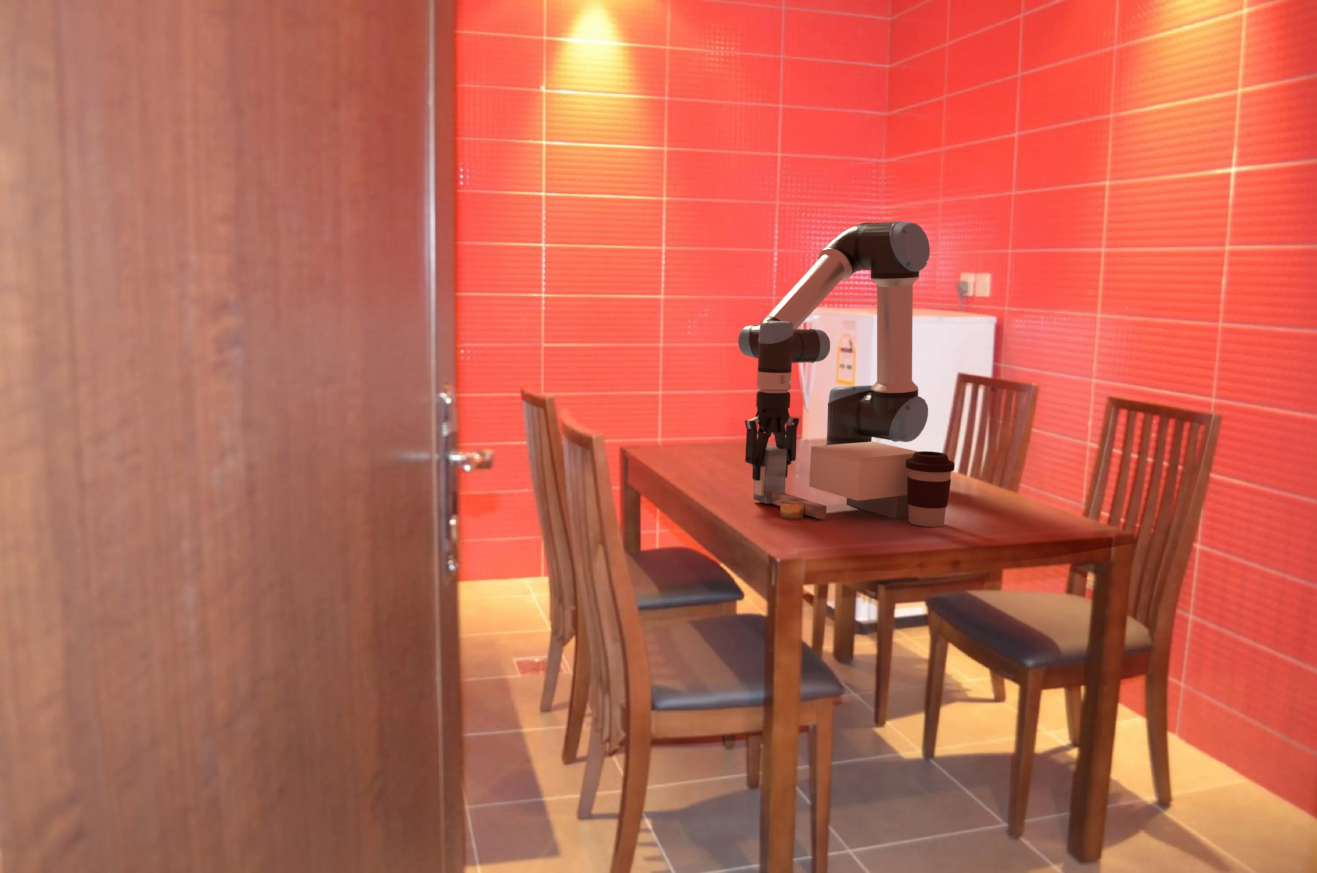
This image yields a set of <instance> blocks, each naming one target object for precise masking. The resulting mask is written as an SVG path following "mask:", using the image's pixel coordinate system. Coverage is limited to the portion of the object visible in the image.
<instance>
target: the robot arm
mask: <svg viewBox="0 0 1317 873" xmlns="http://www.w3.org/2000/svg"><path fill="white" fill-rule="evenodd" d="M930 247H931V246H930V243H929V239H928V236H927V233H926V232H925V230H923V228H922V227H921V226H920V225H919V224H918V223H915V222H910V221H900V220H899V221H898V220H897V221H888V222H887V221H885V222H884V221H883V222H882V221H881V222H871V221H870V222H862V223H858V224H855V225H853V226H851V227H849V228H847V229H845V230H844V231H843V232H841V233H839V234H838V235H837V236H836V237H834V238H833V239H832V240H830V242H829V243H827V244H826V246H824V247H823V248H822V250H821V251H820V252H819V253H818V260H817V261H816V262H815V263H814V264H813V265H812V266H811V267H810V269H809V270H807V272H806V273H805V274H804V275H803V276H802V277H801V278H800V279H799V280H798V281H797V282H796V283H795V285H794V286H793V287H791V289H790V290H789V291H788V292H787V293H786V294H785V295H784V296H783V298H782V299H781V300H780V301H778V303H777V304H776V305H775V306H774V307H773V309H772V310H771V311H770V312H769V313H767V315H765V317H764V319H762V321H760V323H758V324H757V325H756V324H751V325H747V326H745V327H743V328H742V329H741V330H740V333H739V335H738V341H737V344H738V348H739V350H740V352H741V353H742V354H743V355H744V356H747V357H749V358H754V359H757V374H756V388H757V389H758V391H757V392H756V400H755V406H756V408H757V409H756V410H757V411H756V413H755V417H753V418H751V419H750V418H749V419H748V418H747V419H745V421H744V423H745V428H746V436H745V438H746V439H745V458H744V460H745V463H746V464H750V465H751V466H752V474H751V475H752V476H751V477H752V481H754V480H755V483H754V482H753V495H754V494H757V495H761V496H763V495H764V482H765V467H764V466H762V463H763V459H764V455H765V450H766V447H767V446H768V443H769V439H770V438H771V436H772V435H774V441H775V446H776V447H779V448H784V449H787V457H786V478H788V473H789V472H788V471H789V470H788V469H789V466H791V464H792V462H794V461H796V459H797V438H798V437H797V434H798V432H797V430H798V426H799V422H800V418H798V417H796V416H795V417H794V416H791V415H790V413H789V409H790V408H791V393H790V392H789V391H790V390H791V388H792V370H793V369H792V366H793V364H797V363H799V364H800V363H803V364H804V363H811V364H814V363H817V362H822V361H824V360H825V359H826V358H827V357H828V356H829V353H830V351H831V340H830V337H829V336H828V334H827V333H826V332H825V331H823V330H821V329H816V328H808V329H805V328H799V327H800V326H802V324H803V323H804V322H805V321H806V320H807V319H808V318H809V316H810V315H811V314H812V313H813V312H814V311H815V310H816V308H818V307H819V305H820V304H821V303H822V302H823V301H824V300H825V299H826V298H827V297H828V295H829V294H830V293H831V292H832V291H834V289H835V287H837V285H838V284H839V283H840V282H841V281H846V280H848V279H850V277H852V275H853V274H855V273H856V272H859V271H870V280H871V281H872V282H873V283H874V284H875V286H876V382H875V383H874V384H873V385H870V384H869V385H850V386H849V385H847V386H837V387H833V388H832V389H830V391H829V396H828V402H827V423H826V426H827V427H826V430H827V431H826V444H825V445H836V444H849V443H862V442H873V440H872V438H875V439H881V440H886V441H887V440H888V441H891V442H897V443H898V442H902V443H903V442H904V443H909V442H910V443H911V442H912V441H914V440H916V439H917V438H919V436H920V435H921V434H922V432H923V430H924V429H925V428H926V424H927V423H928V422H927V421H928V418H929V408H928V407H929V405H928V403H927V401H926V399H924V398H923V397H921V396H919V387H918V385H917V384H916V383H915V382H914V381H913V312H914V311H913V304H914V303H913V297H914V295H913V294H914V293H913V292H914V290H913V289H914V288H913V286H914V283H915V282H916V281H917V280H919V279H920V271H922V270H924V268H925V267H927V264H928V261H929V259H930V252H931V250H930V249H931V248H930Z"/></svg>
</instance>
